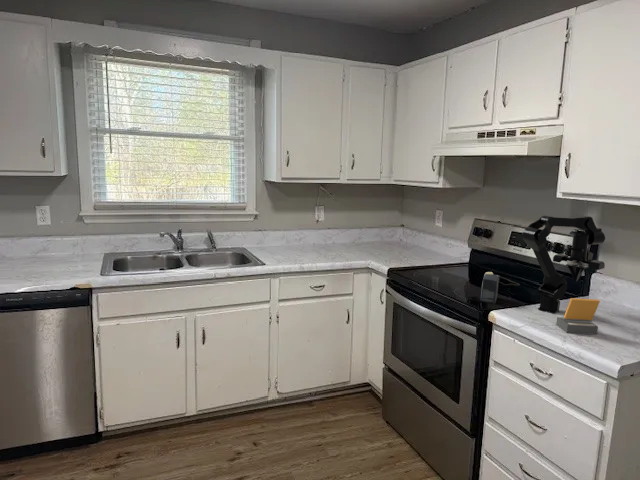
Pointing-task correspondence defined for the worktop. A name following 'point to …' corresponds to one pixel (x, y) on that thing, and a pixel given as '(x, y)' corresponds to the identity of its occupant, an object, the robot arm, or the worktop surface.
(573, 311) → the orange square tile
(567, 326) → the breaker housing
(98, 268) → the worktop surface
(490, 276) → the small box
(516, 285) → the cable
